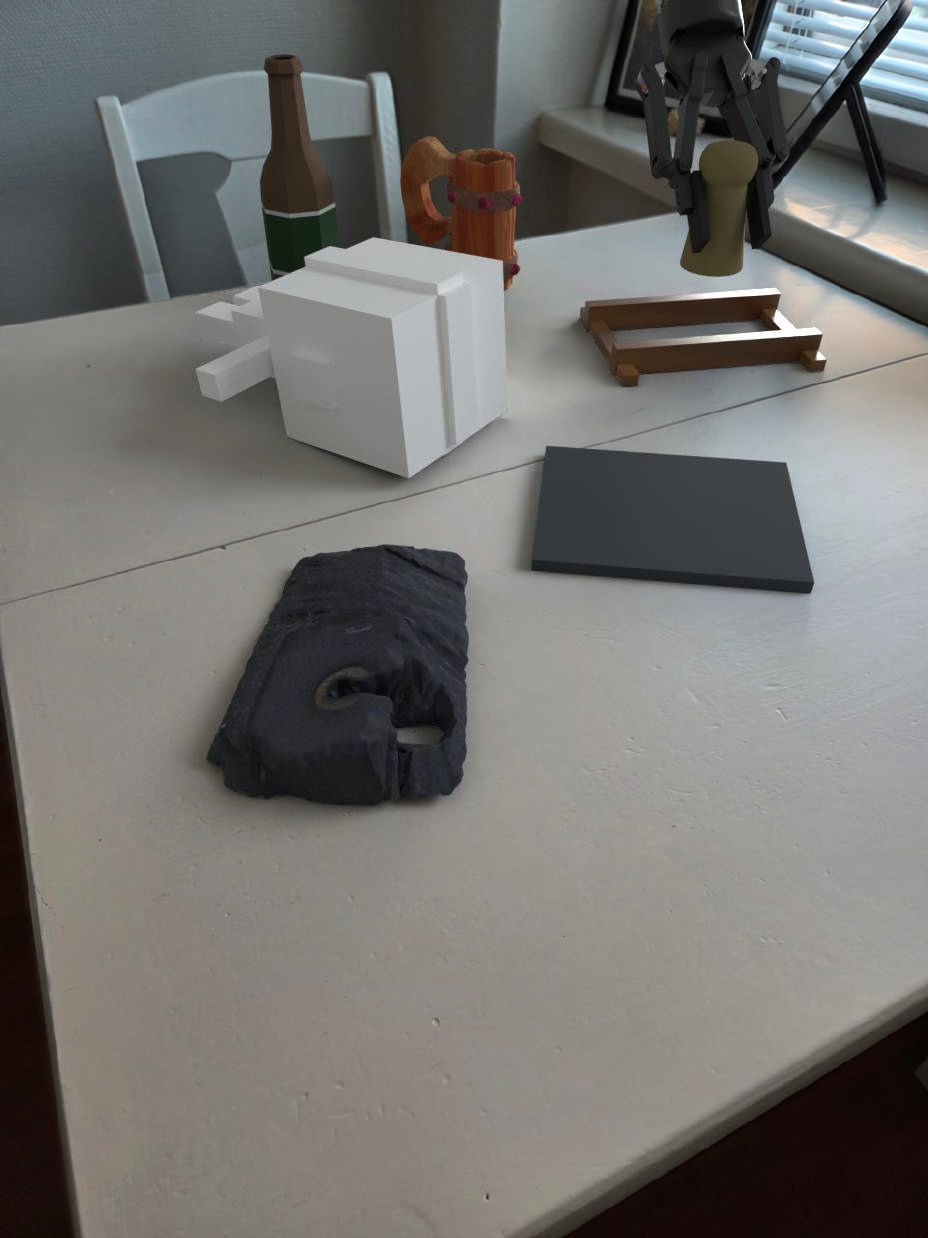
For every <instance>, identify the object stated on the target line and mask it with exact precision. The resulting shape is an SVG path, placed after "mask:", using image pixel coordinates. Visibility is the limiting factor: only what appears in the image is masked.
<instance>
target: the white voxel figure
mask: <svg viewBox="0 0 928 1238" xmlns="http://www.w3.org/2000/svg"><path fill="white" fill-rule="evenodd" d="M304 259H305V266H306V267H304V268H301V269H299V270H297V271H294V272H292V273H290V274H287V275H285V276H283V277H280V278H278V279H276V280H274V281H272V280H271V281H269V282H267V283H264V284H262V285H255V286H253V287H250V288H248V289H246V290H244V291H241V292H239V293H236V294H234V295H232V299H233V303H234V304H233V303H229V302H225V301H218V302H215V303H213V304H210V305H208V306H206V307H203V308H202V309H199V310H197V311H195V317H196V321H197V326H198V330H199V335H200V337H201V338H203V339H208V340H212V341H214V342H218V343H221V344H225V345H228V346H232V347H236V349H234V350H233V351H231V352H230V351H229V352H228V353H226V354H223V355H222V356H220V357H217V358H215V359H214V360H212V361H209V362H207V363H205V364H203V365H200V366H199V367H197V368H195V372H196V377H197V380H198V384H199V388H200V392H201V395H202V396H203V397H205V398H208V399H211V400H213V401H217V402H224V401H225V400H227V399H229V398H231V397H233V396H235V395H238V394H240V393H241V392H243V391H245V390H248V389H249V388H251V387H253V386H254V385H256V384H258V383H260V382H262V381H265V380H267V379H268V378H272V379H275V382H276V387H277V393H278V397H279V402H280V408H281V413H282V418H283V423H284V429H285V433H286V437H287V438H290V439H292V440H296V441H298V442H301V443H304V444H307V445H309V446H313V447H316V448H318V449H321V450H325V451H327V452H331V453H334V454H336V455H339V456H342V457H346V458H348V459H351V460H354V461H357V462H360V463H362V464H366V465H369V466H370V467H371V466H372V467H375V468H378V469H380V470H383V471H386V472H389V473H392V474H395V475H398V476H401V477H403V478H406V479H410V478H412V477H413V476H414V475H417V474H418V473H419V472H421V471H423V470H424V469H425V468H426V467H428V466H429V465H431V464H432V463H434V462H435V461H437V460H438V459H439V458H441V457H444V456H446V455H447V454H449V453H450V452H451V451H453V450H454V449H456V448H457V447H459V446H461V444H463V443H464V442H465V441H466V440H467V439H468V438H470V437H471V436H472V435H474V434H475V433H478V431H480V430H481V429H483V428H484V427H486V426H487V425H489V424H490V423H491V422H493V421H495V420H496V419H497V418H499V417H500V416H502V415H503V414H505V413H507V412H508V411H509V402H508V377H507V375H508V374H507V373H508V372H507V348H506V347H507V345H506V344H507V343H506V318H505V317H506V316H505V314H506V313H505V290H504V283H503V261H501V260H496V259H490V258H485V257H479V256H474V255H468V254H463V253H457V252H452V251H446V250H445V249H440V248H435V247H429V246H423V245H418V244H412V243H407V242H402V241H397V240H390V239H386V238H379V237H374V236H373V237H371V238H368V239H366V240H364V241H361V242H359V243H357V244H354V245H352V246H349V247H347V248H341V247H339V248H337V247H332V246H329V247H327V248H324V249H322V250H320V251H317V252H315V253H313V254H310V255H308V256H305V257H304Z"/></svg>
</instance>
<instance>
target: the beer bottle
mask: <svg viewBox="0 0 928 1238" xmlns="http://www.w3.org/2000/svg"><path fill="white" fill-rule="evenodd" d="M301 61H302V60H301V59H300V58H299V57H298V56H296V55H294V54H288V53H287V54H285V53H284V54H283V53H282V54H274V55H271V56H268V57H266V58H264V65H263V71H264V72H265V73H266V74H267V83H268V84H267V85H268V98H269V99H268V100H269V114H270V115H269V116H270V129H271V130H270V131H271V135H270V136H271V137H270V138H271V139H270V150H269V152H268V154H267V156H266V158H265V160H264V163H263V164H262V168H261V174H260V178H259V190H260V191H259V193H260V203H261V211H262V219H263V225H264V226H263V227H264V233H265V241H266V248H267V249H266V250H267V257H268V263H269V272H270V278H271V281H274V280H276V279H278V278H280V277H283V276H285V275H287V274H290V273H292V272H294V271H297V270H299V269H301V268H304V267H306V266H305V259H304V257H305V256H308V255H310V254H313V253H315V252H317V251H320V250H322V249H324V248H327V247H329V246H332V247H337V248H340V244H339V232H338V231H339V230H338V219H337V207H336V200H335V199H336V198H335V193H334V186H333V182H332V180H331V177H330V175H329V172H328V170H327V167H326V166H325V164H324V163H323V161H322V159H321V158H320V157H319V156H318V154H317V153H316V151H315V150H314V146H313V142H312V138H311V133H310V128H309V121H308V115H307V114H308V113H307V108H306V102H305V95H304V88H303V82H302V73H303V71H304V68H303V65H302V62H301Z"/></svg>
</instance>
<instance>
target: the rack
mask: <svg viewBox="0 0 928 1238" xmlns="http://www.w3.org/2000/svg"><path fill="white" fill-rule="evenodd" d="M781 296H782V294H781V292H780V291H779V290H778V289H777V288H775V287H772V288H760V289H759V288H757V289H744V290H731V291H729V290H727V291H716V292H715V291H714V292H700V293H698V292H697V293H687V294H686V293H685V294H671V295H670V294H669V295H656V296H641V297H628V298H627V297H625V298H611V299H598V300H596V299H595V300H586V301H585V302H584V303H585V304H584V306H581V307H580V310H579V319H580V321H581V322H582V323H583V324H582V327H583V329H584V330H585V332H586V333H589V335H590V336H591V338H592V340H593V341H594V343H595V345H596V347H597V348H598V349H599V351H600V353H601V354H602V356H603V357H604V359H605V361H606V362H607V364H608V366H609V371H610V373H611V374H612V376H613V377H616V378H617V381H618V382H619V384H620V386H621V387H623V388H626V387H637V386H639V383H640V376H641V375H646V374H647V375H648V374H658V373H671V372H673V373H674V372H684V371H697V370H711V369H712V370H713V369H722V368H734V367H735V368H736V367H751V366H760V365H761V366H762V365H763V366H764V365H773V364H786V363H800V364H801V365H802V366H803V367H804V368H805V369H806V370H807V371H808V372H809V373H813V372H823V371H825V368H826V365H827V361H828V360H827V358H826V357H825V356H824V355H823V354H822V353H821V352H820V351H819V350H820V346H821V344H822V343H821V342H822V339H823V335H824V334H823V333H822V332H821V330H819V329H818V328H817V327H809V328H796V327H795V326H794V325H793V324H792V323H791V322H789V320H788V319H787V318H786V317H784V315H783V314H781V312H780V311H779V310H778V308H779V304H780V299H781ZM751 321H760V322H761V323H762V324H763V325H764V326H765V327H766V328H767V329H768V331H755V332H742V333H729V334H714V335H713V334H712V335H701V336H700V335H699V336H686V337H674V338H660V339H659V338H658V339H646V340H645V339H644V340H632V341H620V342H619V341H618V339H617V338H616V337H615V335H614V333H613V332H612V331H625V330H640V329H652V328H666V327H679V326H682V327H683V326H693V325H695V326H696V325H709V324H721V323H735V322H736V323H737V322H751Z"/></svg>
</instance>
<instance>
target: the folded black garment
mask: <svg viewBox="0 0 928 1238" xmlns="http://www.w3.org/2000/svg"><path fill="white" fill-rule="evenodd" d="M468 579H469V574H468V572H467V570H466V560H465V559H464V558H463V557H462V555H460V554H459V553H457V552H454V551H451V550H450V551H449V550H440V549H439V550H438V549H431V548H427V547H424V548H415V546H414V545H401V544H390V543H387V544H386V543H384V544H378V545H373V546H365V547H356V548H352V549H350V550H340V551H330V552H318V553H315V554H313V555H311V556H304V557H302V558H301V559H300V560H298V562H296V564H295V565H294V567H293V569H292V570H291V573H290V575H289V576H288V578H287V579H286V580H285V582H284V585H283V589H282V591H281V594H282V596H281V598H280V599H279V600H278V601H277V602H276V603H275V605H274V609H272V611H271V612H270V614H269V616H268V620H267V623H266V624H265V626H264V627H263V629H262V631H261V633H260V634H259V636H258V638H257V639H256V643H255V645H253V649H252V652H251V655H250V657H249V658H248V659H247V660H246V664H245V668H244V671H243V673H242V676H241V677H240V679H239V681H238V683H237V686H236V689H235V691H234V693H233V695H232V697H231V699H230V703H229V705H228V707H227V709H226V712H225V714H224V716H223V718H222V720H221V724H219V727H218V729H217V731H216V733H215V734H214V737H213V740H212V742H211V744H210V746H209V749H208V751H207V754H206V756H205V757H206V758H205V759H206V761H207V762H209V763H211V764H213V765H215V766H217V767H221V768H222V770H223V771H224V778H223V784H224V786H225V787H226V788H227V789H229V790H231V791H233V792H236V793H244V794H245V795H246V796H248V797H250V798H258V797H259V798H263V799H264V800H269V799H272V798H273V797H275V796H277V797H278V796H282V797H285V796H287V797H288V796H289V797H293V798H299V799H303V800H305V801H308V802H312V803H319V804H323V805H334V806H335V805H336V806H368V807H369V806H375V805H376V806H377V805H379V804H382V803H383V802H384V801H388V800H392V801H397V799H398V797H401V799H416V800H417V799H419V798H420V797H421V796H422V795H426V796H431V797H432V796H433V797H434V796H439V795H442V796H444V797H448V796H450V795H452V793H453V792H454V790H455V789H456V788H457V787H458V786H459V785H460V784H461V783H462V780H463V777H464V773H465V772H464V769H463V764H464V762H465V760H466V757H467V753H468V747H467V742H466V738H467V732H466V730H467V729H466V728H467V724H468V714H467V713H468V697H467V691H468V690H467V687H468V684H467V682H466V679H467V672H466V670H465V669H466V667H467V665H468V663H469V659H470V658H469V657H468V651H469V650H468V649H469V643H470V641H469V640H470V636H469V631H468V626H467V624H466V622H467V613H466V612H467V609H466V607H467V598H466V593H465V592H466V586H467V585H468ZM416 725H437V726H438V727H439V728H440V731H442V733H443V734H442V735H441V737H440V738H439V740H438V741H437V742H436V743H434V744H430V745H426V744H423V743H411V742H405V741H404V742H401V741H399V740H398V730H397V729H396V728H400V727H403V726H416Z"/></svg>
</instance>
